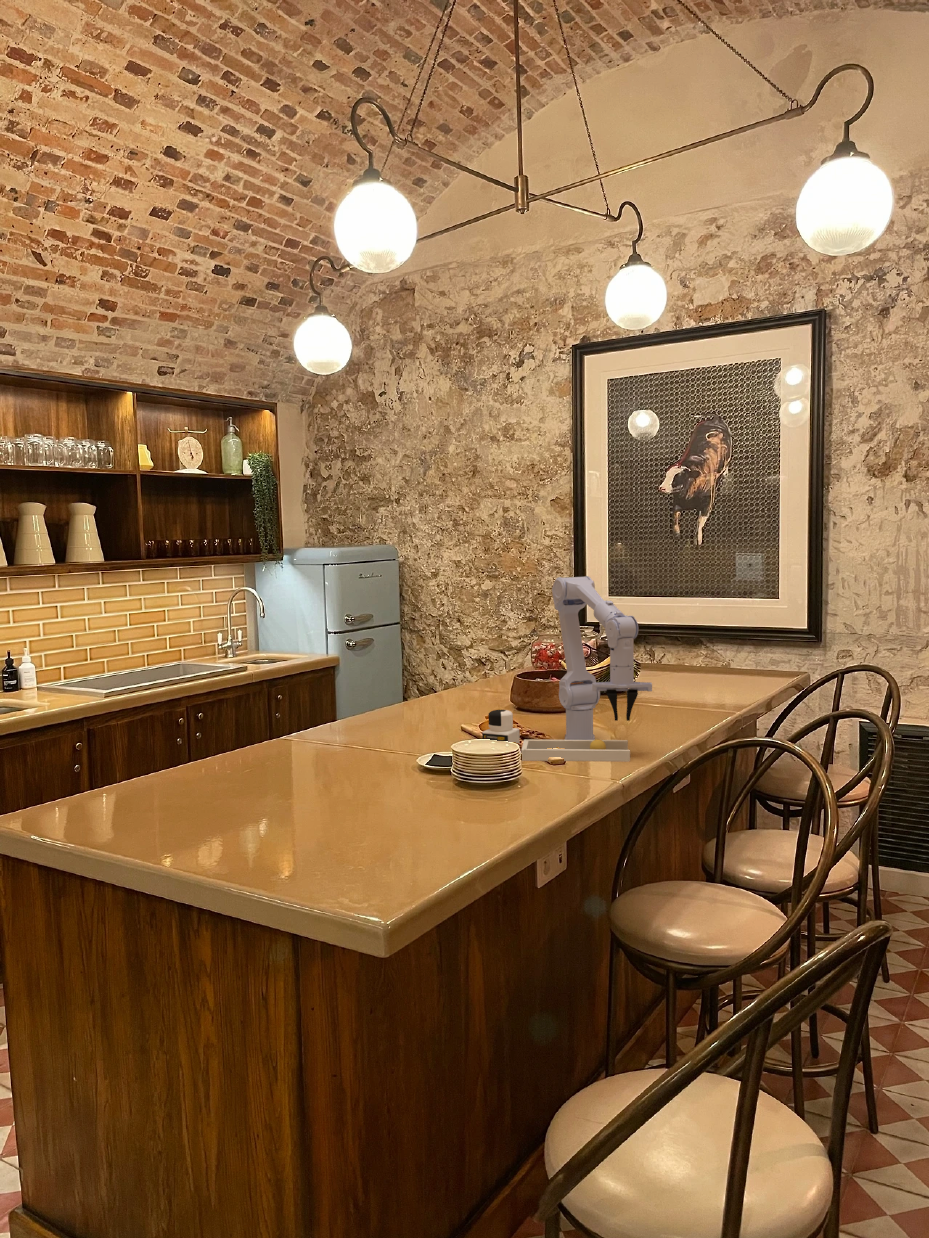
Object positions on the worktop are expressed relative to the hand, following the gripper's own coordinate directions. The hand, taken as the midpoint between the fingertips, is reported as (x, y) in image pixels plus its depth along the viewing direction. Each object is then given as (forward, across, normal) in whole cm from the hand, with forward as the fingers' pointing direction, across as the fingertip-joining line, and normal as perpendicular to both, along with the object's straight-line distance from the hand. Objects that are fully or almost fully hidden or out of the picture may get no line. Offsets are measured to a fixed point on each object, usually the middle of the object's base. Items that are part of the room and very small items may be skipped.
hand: (622, 719), depth 235 cm
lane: (+9, -11, 0) cm, 14 cm away
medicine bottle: (+10, -30, -2) cm, 32 cm away
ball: (+9, -6, 0) cm, 11 cm away
